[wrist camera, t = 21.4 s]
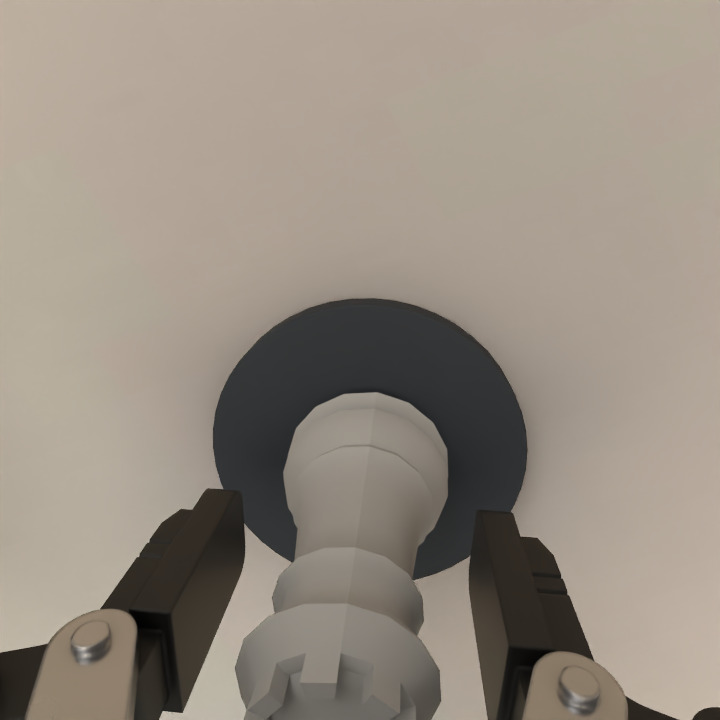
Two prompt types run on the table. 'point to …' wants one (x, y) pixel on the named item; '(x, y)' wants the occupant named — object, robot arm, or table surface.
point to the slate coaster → (367, 375)
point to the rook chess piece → (352, 570)
